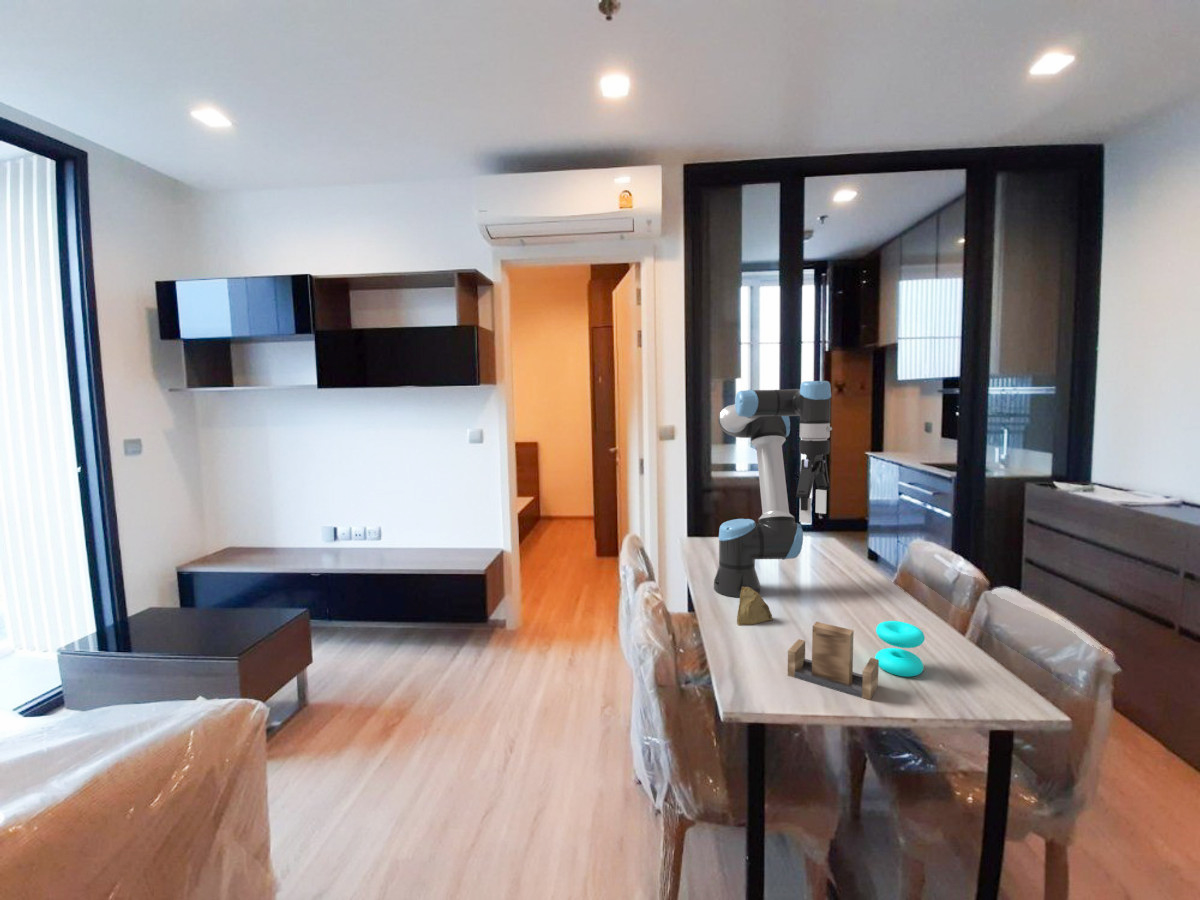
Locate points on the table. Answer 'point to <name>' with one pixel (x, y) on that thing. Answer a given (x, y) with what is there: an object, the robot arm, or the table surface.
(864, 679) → the frame posts
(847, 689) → the track
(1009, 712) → the table surface
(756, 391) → the robot arm
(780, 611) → the table surface
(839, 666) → the door panel
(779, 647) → the table surface
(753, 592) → the rock
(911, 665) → the donuts
